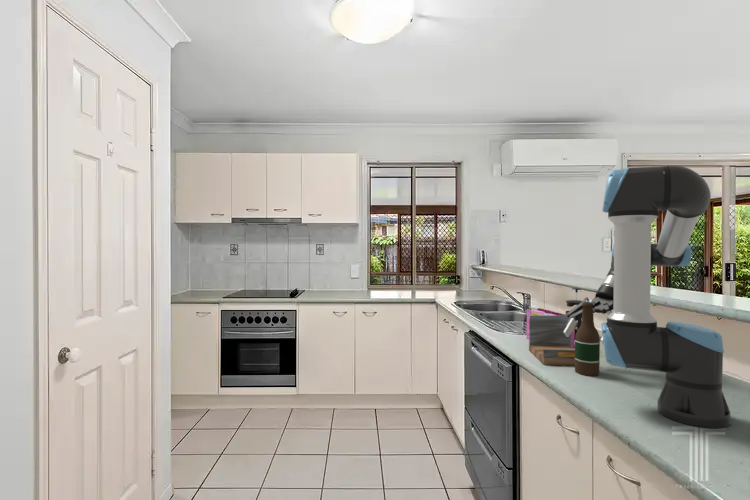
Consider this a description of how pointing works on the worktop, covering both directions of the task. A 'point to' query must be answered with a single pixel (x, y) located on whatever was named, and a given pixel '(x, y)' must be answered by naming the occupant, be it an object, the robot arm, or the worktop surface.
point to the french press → (576, 302)
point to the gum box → (547, 312)
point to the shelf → (550, 340)
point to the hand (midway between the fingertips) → (583, 338)
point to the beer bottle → (587, 344)
